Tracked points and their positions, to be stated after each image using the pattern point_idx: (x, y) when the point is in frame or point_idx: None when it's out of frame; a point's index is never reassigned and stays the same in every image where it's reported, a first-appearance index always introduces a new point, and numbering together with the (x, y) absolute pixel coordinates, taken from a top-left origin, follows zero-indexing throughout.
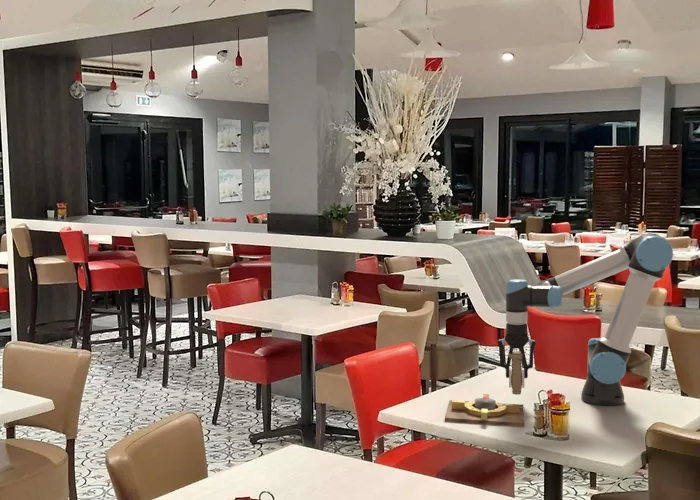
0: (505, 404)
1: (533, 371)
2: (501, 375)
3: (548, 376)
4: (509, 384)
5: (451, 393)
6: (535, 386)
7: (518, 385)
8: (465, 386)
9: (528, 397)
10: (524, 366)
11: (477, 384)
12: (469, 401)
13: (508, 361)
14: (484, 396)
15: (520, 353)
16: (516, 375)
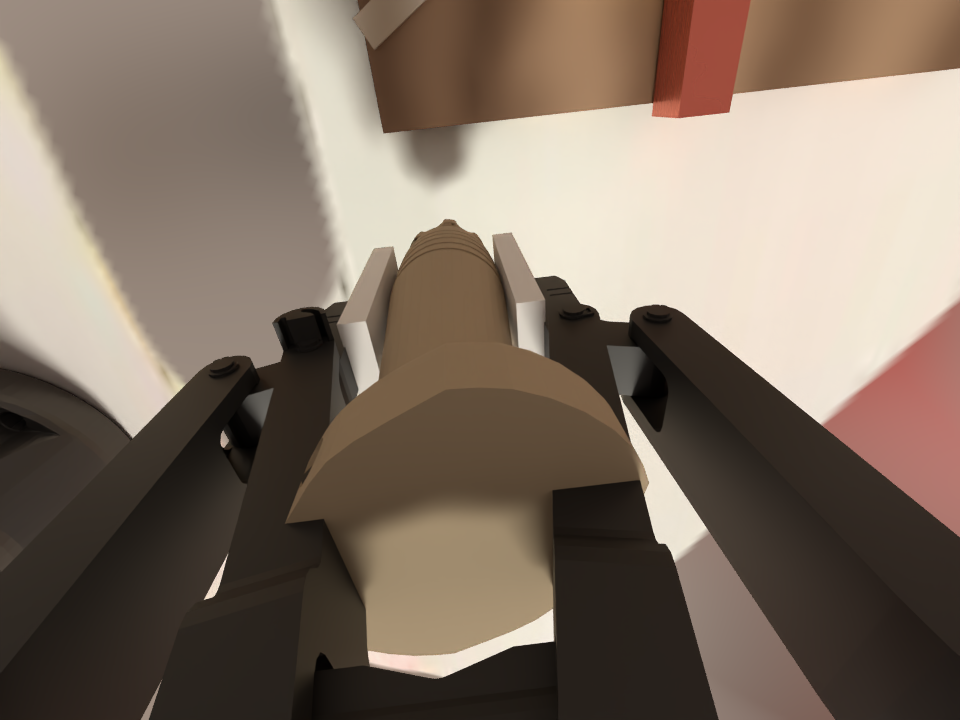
0: (518, 87)
1: (445, 672)
2: None
3: None
4: (511, 241)
5: (840, 329)
6: None
7: (424, 236)
8: None
9: None
10: (324, 355)
11: (663, 505)
12: (809, 78)
13: (586, 367)
14: (735, 14)
15: (355, 542)
16: (442, 264)
